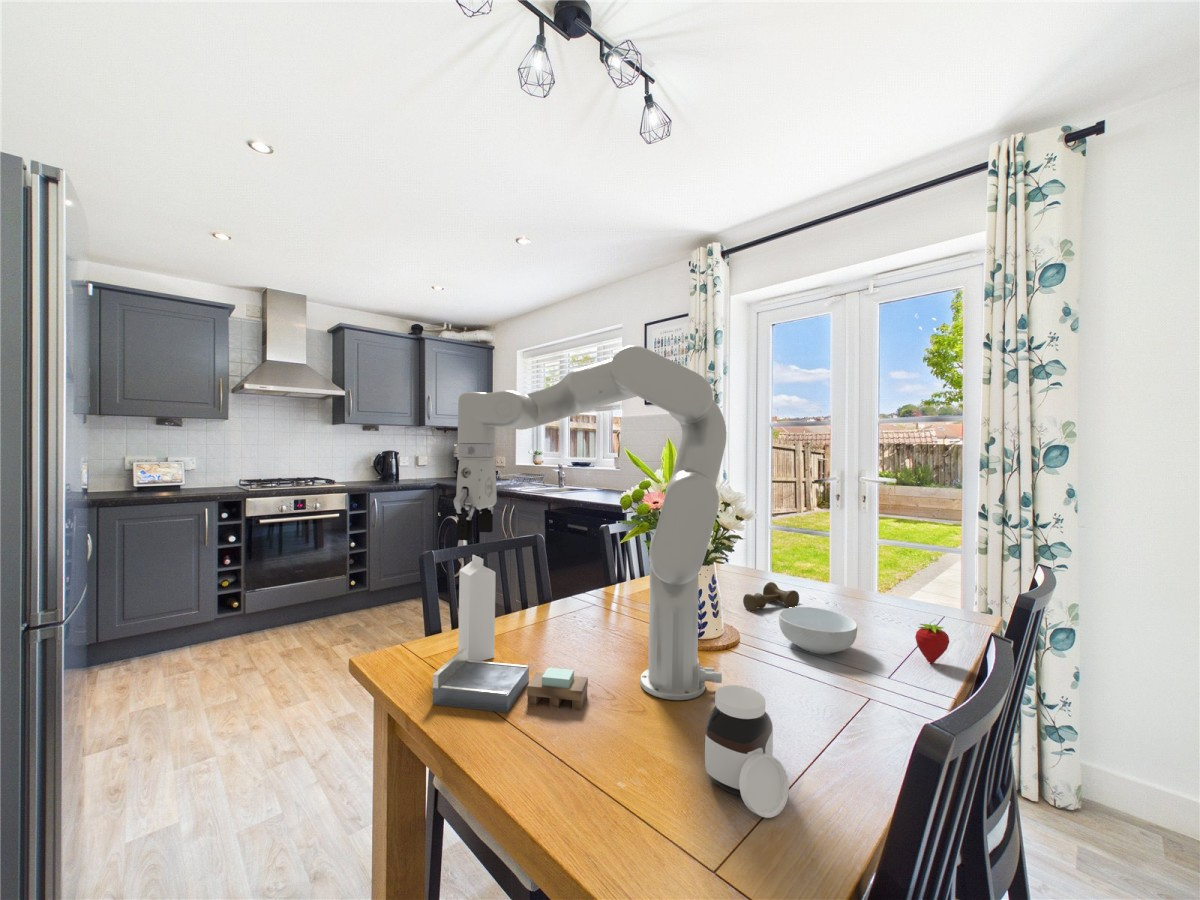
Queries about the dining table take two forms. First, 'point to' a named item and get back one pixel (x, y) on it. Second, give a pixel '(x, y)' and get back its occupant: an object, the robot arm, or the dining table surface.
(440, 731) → the dining table surface
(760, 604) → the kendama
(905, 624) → the dining table surface
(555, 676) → the cargo
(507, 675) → the tray
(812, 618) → the cereal bowl
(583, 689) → the pallet
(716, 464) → the robot arm
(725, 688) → the spread jar
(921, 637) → the strawberry
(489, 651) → the milk
